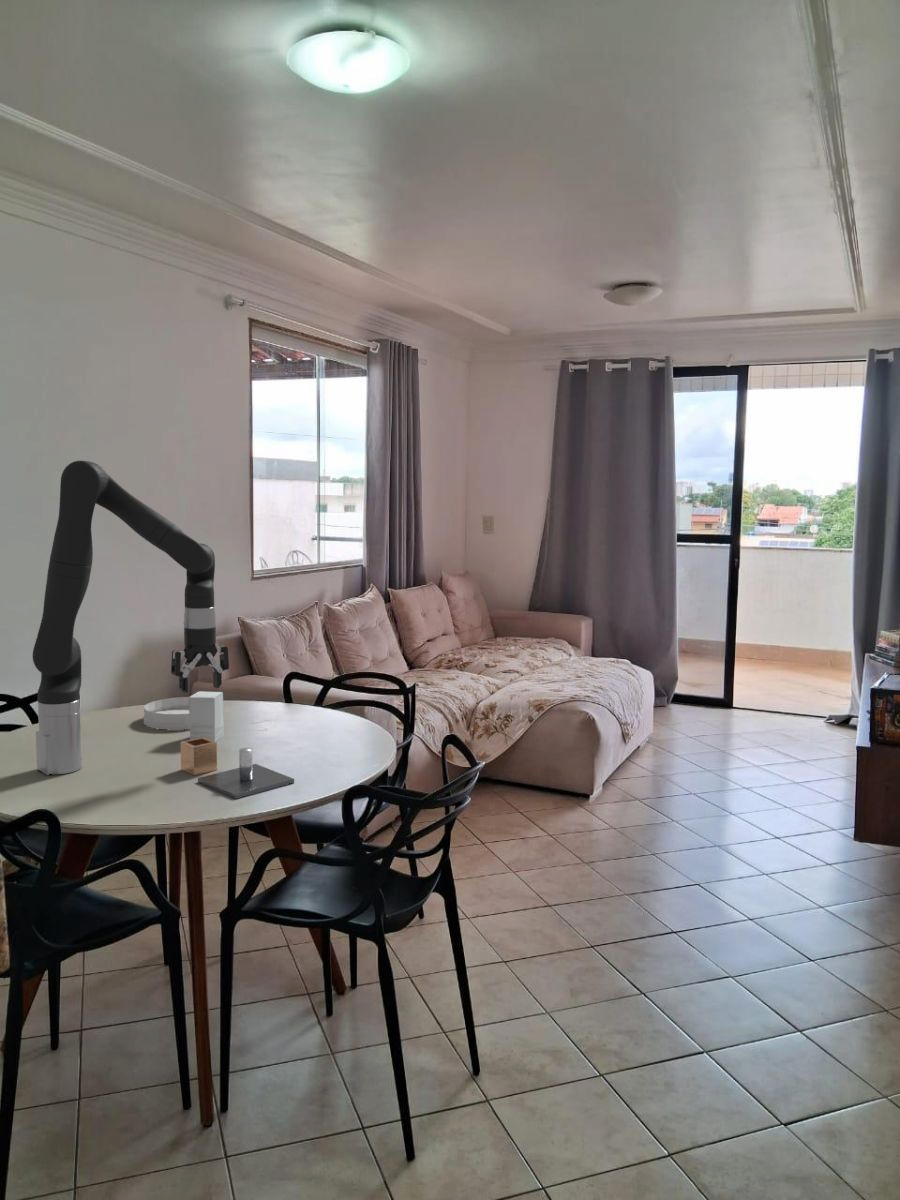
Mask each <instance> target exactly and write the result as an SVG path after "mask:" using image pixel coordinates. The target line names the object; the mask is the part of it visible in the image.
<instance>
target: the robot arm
mask: <svg viewBox="0 0 900 1200" xmlns="http://www.w3.org/2000/svg"><path fill="white" fill-rule="evenodd" d="M59 490H60V491H59V508H58V519H57V523H56V527H55V533H54V535H53V541H52V547H51V551H50V552H51V553H50V555H49V563H48V570H47V575H46V584H45V591H44V600H43V609H42V617H41V620H40V621H41V622H40V624H39V625H40V626H39V629H38V633H37V635H36V639H35V641H34V642H35V643H34V646H33V649H32V650H33V651H32V661H33V664H34V666H35V668H36V670H37V671H38V672H39V673H40V674H41V677H40V683H39V687H38V690H37V709H38V710H37V713H38V714H37V716H38V718H37V719H38V731H36V732H35V746H36V747H35V749H36V770H37V769H39V770H40V771H42V772H43V773H42V772H41V773H42V774H44V773H45V774H46V776H50V775H49V774H52V775H63V774H70V773H74V772H77V771H78V770H81V769H82V767H83V766H82V763H83V762H82V760H83V759H82V739H81V738H82V736H81V709H80V708H81V705H80V703H81V701H80V690H81V686H82V650H81V646H80V644H79V642H78V640H77V639H76V638H75V637H74V630H75V623H76V620H77V619H76V618H77V615H78V613H79V610H80V608H81V605H82V603H83V601H84V599H85V596H86V593H87V590H88V586H89V583H90V578H91V573H92V567H93V566H92V565H93V556H94V554H93V553H94V552H93V549H94V548H93V537H92V523H93V522H92V520H93V515H94V512H95V507H96V505H98V506H100V507H102V508H104V509H105V510H107V511H109V512H111V514H114V516H116V517H118V518H119V519H121V521H122V522H123V523H125V524H126V525H127V526H128V527H129V528H131V530H132V531H134V532H135V533H136V534H138V535H139V536H140V537H141V538H142V539H144V540H145V541H146V542H149V544H152V545H153V546H154V547H155V548H157V549H158V550H160V551H162V552H164V553H165V554H167V555H168V557H170V558H171V559H173V560H174V561H175V562H176V563H177V564H178V565H179V566H181V567H182V568H184V569H185V570H186V584H185V587H184V612H183V636H184V637H183V641H184V642H183V644H184V649H183V650H172V652H171V660H170V661H171V665H170V667H171V669H170V673H171V675H173V676H174V677H175V676H176V677H178V685H179V686H178V688H179V691H181V692H182V693H184V694H187V693H188V692H189V678H188V676H189V674H190V672H191V671H193V670H194V668H195V667H197V668H198V667H203V666H205V667H207V666H209V667H211V669H212V670H213V672H212V682H213V683H212V685H213V686H212V687H213V688H215V689H219V688H220V687H221V685H222V683H223V679H222V675H223V672H225V671H227V670H229V669H230V662H229V661H230V659H229V648H228V646H226V645H219V646H216V642H217V628H216V627H217V625H216V624H217V623H216V622H217V621H216V620H217V619H216V610H215V609H216V608H215V589H214V588H215V587H214V581H215V571H216V568H215V567H216V556H215V553H214V551H213V549H212V548H211V547H210V546H209V545H208V544H205V543H200V542H198V541H196V540H195V539H193V538H192V537H190V536H189V535H187V534H186V533H185V532H184V531H183V530H182V529H181V527H179V526H178V525H177V524H175V523H174V522H172V521H171V520H169V519H168V518H167V517H165V516H163V515H162V514H161V513H159V512H158V511H156V510H154V509H153V508H151V507H150V506H149V505H146V504H145V503H144V502H142V501H141V500H139V499H138V498H136V497H135V496H133V495H132V493H130V492H129V491H127V490H126V489H124V488H123V487H122V485H120V484H119V483H118V482H116V480H114V478H113V477H112V476H111V475H109V474H108V473H107V472H106V471H105V470H104V469H103V467H102V466H100V465H99V464H97V463H95V462H93V461H88V460H75V461H72V462H70V463H69V464H68V465H66V466H65V468H64V469H63V470H62V474H61V476H60V489H59ZM216 655H218V656H219V662H218V661H217V660H216V659H215V656H216ZM183 658H184V659H185V660H184V661H183V664H182V663H181V662H182V660H183ZM181 664H182V666H181ZM40 771H39V772H40ZM45 774H44V775H45Z"/></svg>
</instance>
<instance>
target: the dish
mask: <svg viewBox="0 0 900 1200" xmlns="http://www.w3.org/2000/svg"><path fill="white" fill-rule="evenodd" d="M189 697H190V696H180V697H179V696H178V697H169V698H162V699H157V700H153V701H150V702H148V703H146V704H145V705H144V708H143V724H144V726H145V725H147V726H149V727H153V728H158V729H157V730H159V729H170V730H169V731H187V730H186V729H190V718H189ZM147 726H146V727H147ZM149 727H148V728H149ZM153 728H152V729H153ZM184 729H185V730H184Z"/></svg>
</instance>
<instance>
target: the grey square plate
mask: <svg viewBox="0 0 900 1200" xmlns="http://www.w3.org/2000/svg"><path fill="white" fill-rule="evenodd" d="M238 755H239V760H238V761H239V764H238V765H239V767H237V768H233V769H228V770H225V771H220V772H217V773H213V774H208V775H204V776H200V777H198V778H197V783H199V784H201V785H203V786H205V787H208V788H210V789H212V790H215V791H217V792H219V793H221V794H223V795H226V796H228V797H231V798H232V799H234V798H235V800H238V799H240V797H241V798H244V797H243V796H245V797H248V796H247V795H249V796H251V794H252V795H255V794H254V793H256V794H259V793H258V792H260V793H262V792H261V791H263V792H266V791H265V790H267V791H270V790H269V789H271V790H273V789H272V788H274V789H277V788H276V787H278V788H280V787H279V786H282V787H284V786H283V785H285V786H288V785H287V784H289V783H293V782H294V783H295V778H293V777H291V776H287V775H286V774H283V773H281V772H280V773H279V772H277V771H275V770H273V769H269V768H268V767H265V766H262V765H259V764H257V763H254V764H253V748H251V747H241V748H239V753H238ZM294 783H293V784H294ZM289 785H290V784H289ZM237 798H238V799H237Z"/></svg>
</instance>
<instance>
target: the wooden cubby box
mask: <svg viewBox="0 0 900 1200" xmlns="http://www.w3.org/2000/svg"><path fill="white" fill-rule="evenodd" d="M217 742H218V741H216V742H214V741H212V740H209V739H207V738H204V737H202V738H197V739H192V740H190V739H188V740H183V741H180V770H181V771H183V772H186V773H188V774H190V775H193V776H197V775H202V774H205V773H206V774H207V773H210V772H214V771H217V770H218V757H217V756H218V754H217V753H218V750H217V748H218V747H217V746H218V743H217Z"/></svg>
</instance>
